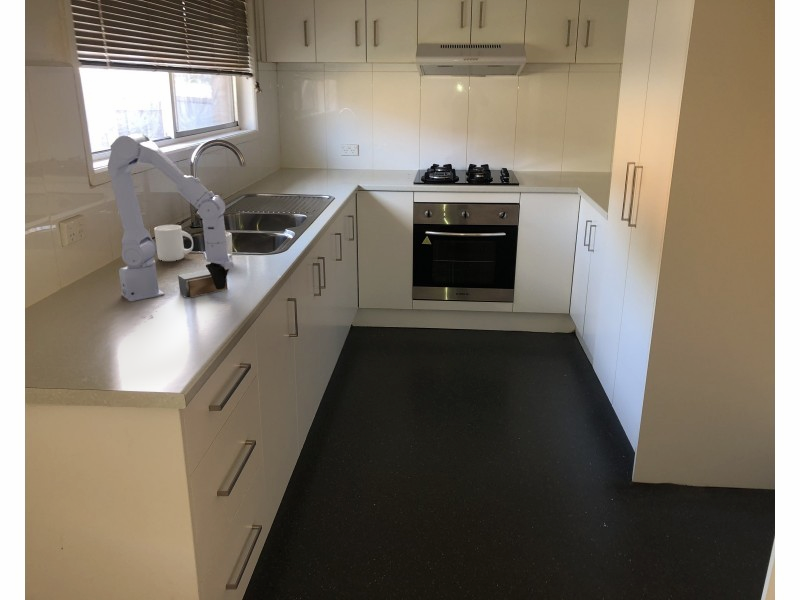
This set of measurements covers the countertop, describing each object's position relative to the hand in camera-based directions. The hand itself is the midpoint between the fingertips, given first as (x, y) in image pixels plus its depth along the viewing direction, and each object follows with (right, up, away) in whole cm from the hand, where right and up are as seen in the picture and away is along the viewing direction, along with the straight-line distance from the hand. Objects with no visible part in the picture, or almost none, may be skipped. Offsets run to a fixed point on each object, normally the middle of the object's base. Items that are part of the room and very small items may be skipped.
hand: (220, 288), depth 179 cm
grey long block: (-6, -1, +4) cm, 7 cm away
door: (-4, -1, +1) cm, 4 cm away
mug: (-26, +11, +38) cm, 47 cm away
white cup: (-8, +8, +31) cm, 33 cm away
